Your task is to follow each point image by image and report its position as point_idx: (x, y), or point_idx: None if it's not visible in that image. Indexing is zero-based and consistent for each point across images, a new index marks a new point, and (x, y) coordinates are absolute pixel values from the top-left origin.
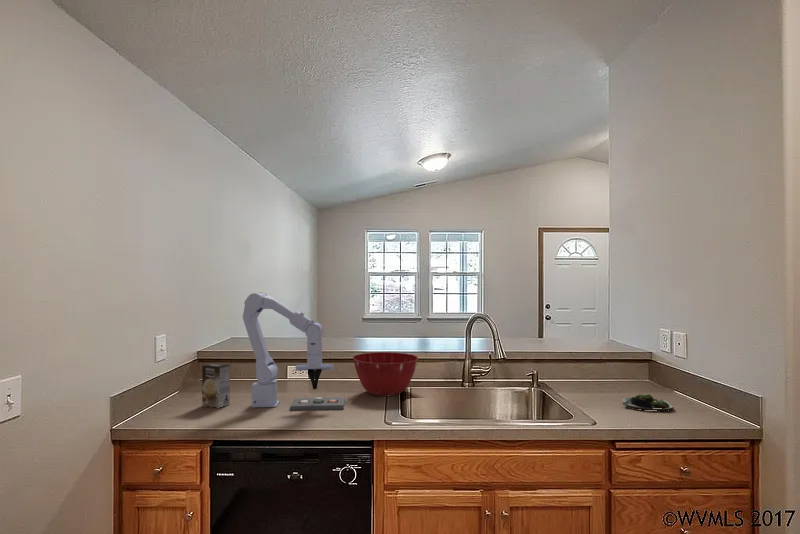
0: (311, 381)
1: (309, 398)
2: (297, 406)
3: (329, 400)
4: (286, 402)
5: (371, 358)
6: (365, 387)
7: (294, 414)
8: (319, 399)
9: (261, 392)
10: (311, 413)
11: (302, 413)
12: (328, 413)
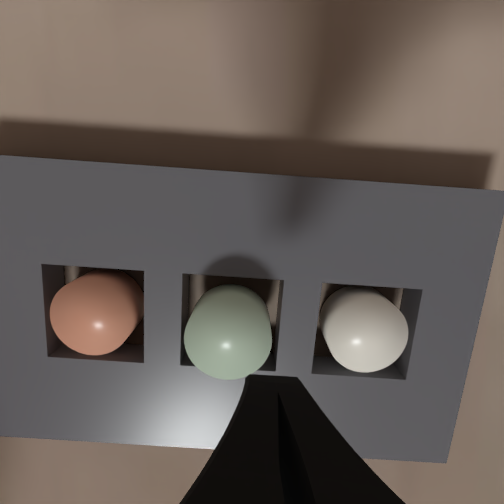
0: (366, 468)
1: None
2: (435, 186)
3: (122, 327)
4: (492, 441)
5: None
6: None
7: (453, 29)
8: (216, 297)
9: None
10: (290, 41)
11: (376, 56)
12: (126, 14)
